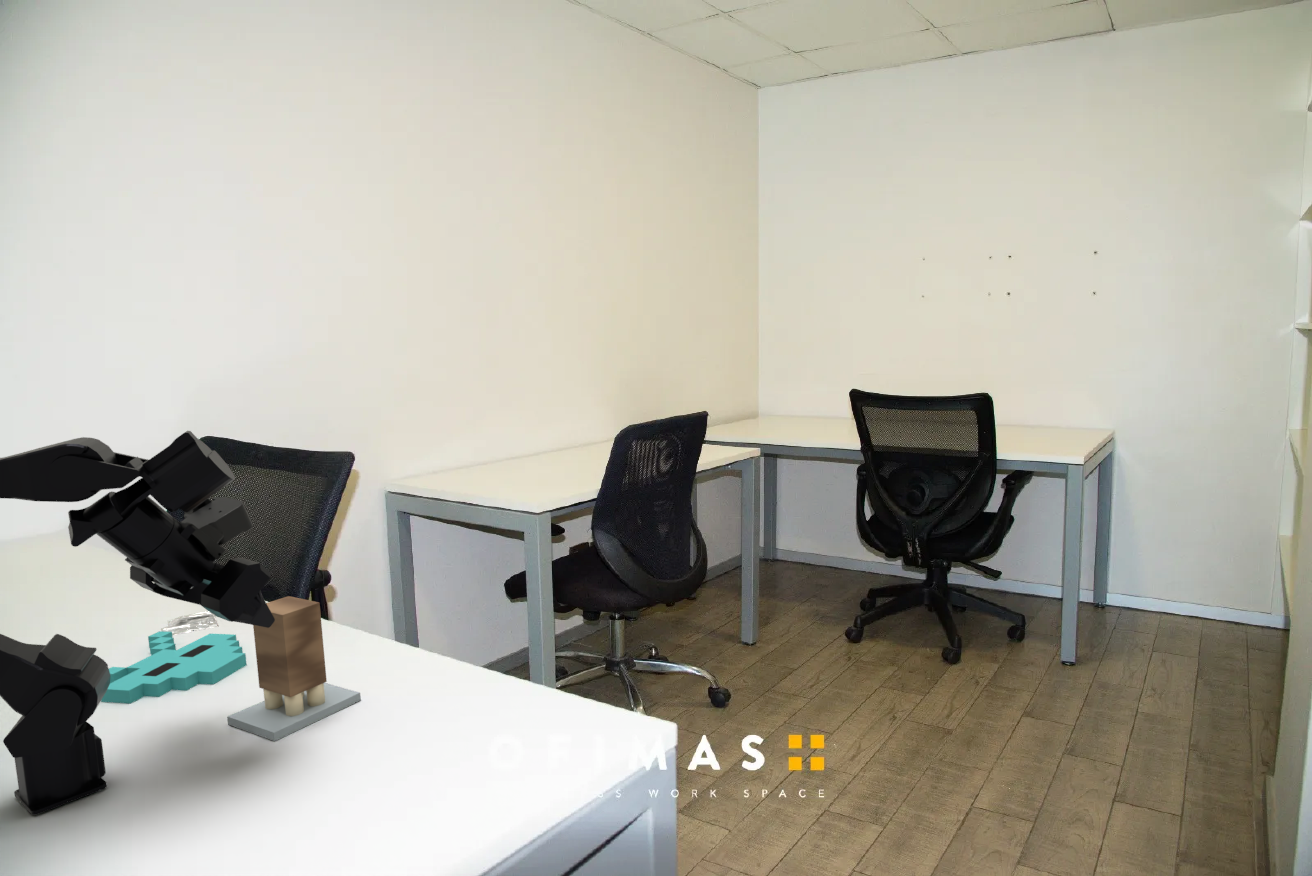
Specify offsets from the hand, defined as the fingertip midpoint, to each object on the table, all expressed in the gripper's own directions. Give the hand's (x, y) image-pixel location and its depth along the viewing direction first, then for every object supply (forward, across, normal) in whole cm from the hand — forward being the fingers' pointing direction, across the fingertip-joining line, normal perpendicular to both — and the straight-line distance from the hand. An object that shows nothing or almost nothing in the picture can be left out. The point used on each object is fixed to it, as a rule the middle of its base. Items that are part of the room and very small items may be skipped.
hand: (247, 614), depth 99 cm
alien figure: (+15, +26, +8) cm, 31 cm away
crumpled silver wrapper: (+24, +43, -1) cm, 49 cm away
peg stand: (+13, -2, +6) cm, 14 cm away
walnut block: (+10, -2, +3) cm, 11 cm away
